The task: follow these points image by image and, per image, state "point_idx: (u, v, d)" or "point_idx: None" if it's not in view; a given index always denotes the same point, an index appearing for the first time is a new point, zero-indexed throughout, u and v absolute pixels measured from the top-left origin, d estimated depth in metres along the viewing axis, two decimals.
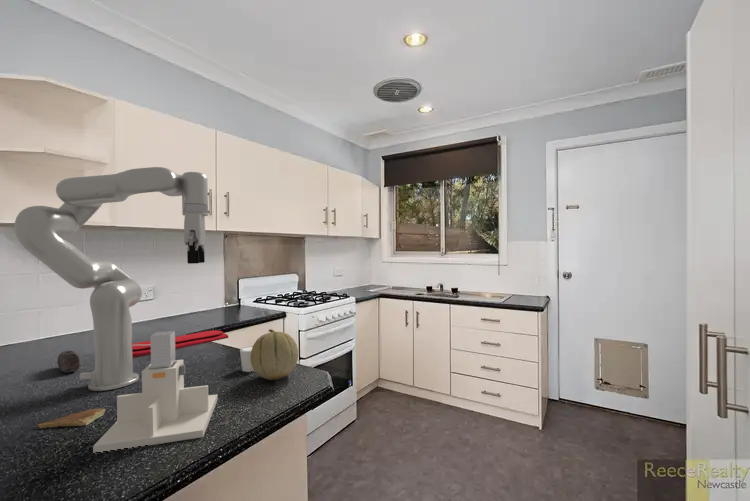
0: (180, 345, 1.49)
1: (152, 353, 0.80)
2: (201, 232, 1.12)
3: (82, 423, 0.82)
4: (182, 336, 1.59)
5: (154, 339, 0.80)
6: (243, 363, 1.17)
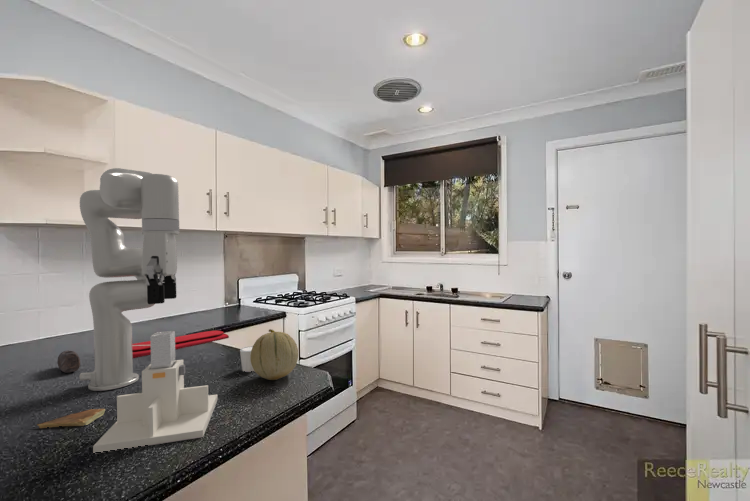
0: (180, 345, 1.49)
1: (152, 353, 0.80)
2: (168, 258, 0.80)
3: (82, 423, 0.82)
4: (182, 336, 1.58)
5: (154, 339, 0.80)
6: (243, 363, 1.17)
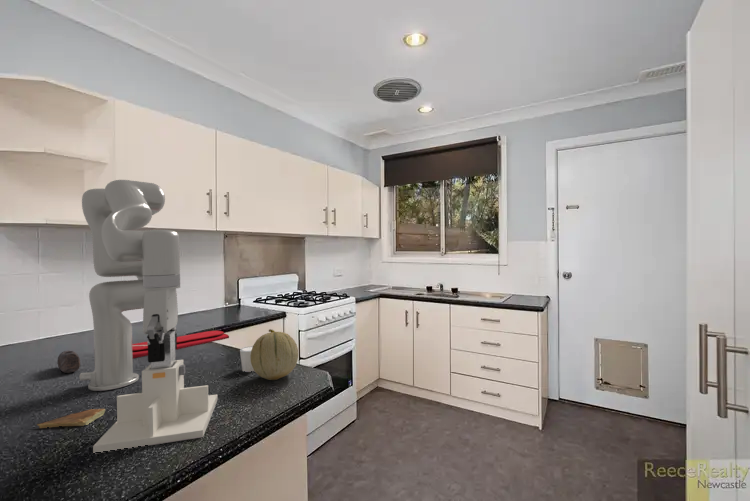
0: (181, 345, 1.48)
1: None
2: (169, 315, 0.80)
3: (82, 423, 0.82)
4: (182, 336, 1.58)
5: None
6: (243, 363, 1.17)
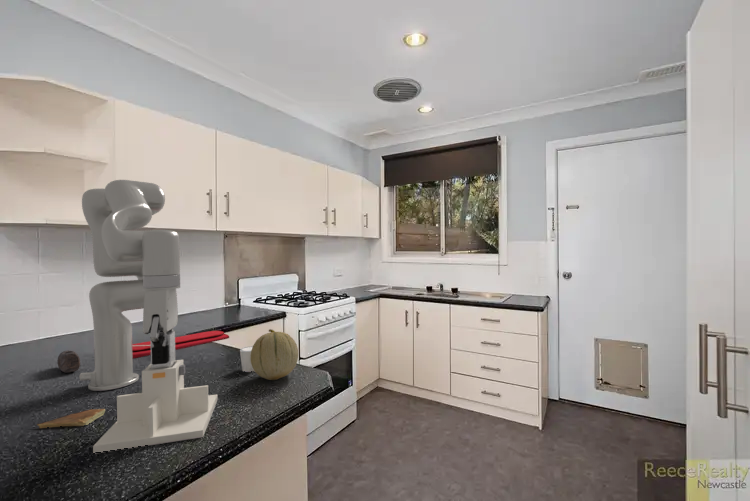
0: (181, 346, 1.48)
1: None
2: (169, 315, 0.80)
3: (82, 423, 0.82)
4: (183, 336, 1.58)
5: None
6: (243, 363, 1.17)
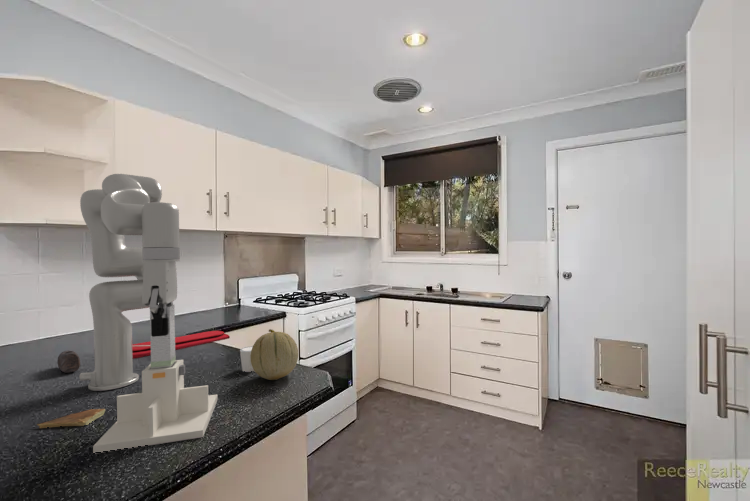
0: (181, 346, 1.48)
1: None
2: (168, 287, 0.80)
3: (82, 423, 0.82)
4: (183, 337, 1.58)
5: None
6: (243, 363, 1.17)
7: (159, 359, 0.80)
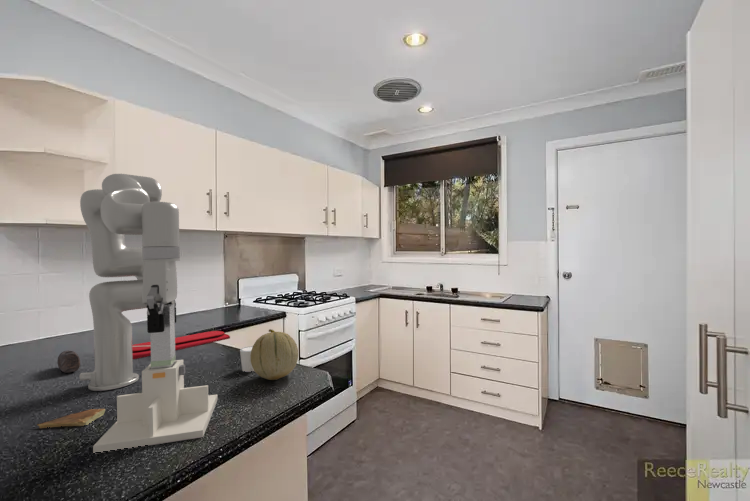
0: (182, 346, 1.48)
1: None
2: (168, 286, 0.80)
3: (82, 423, 0.82)
4: (183, 337, 1.57)
5: None
6: (243, 363, 1.17)
7: (159, 359, 0.80)
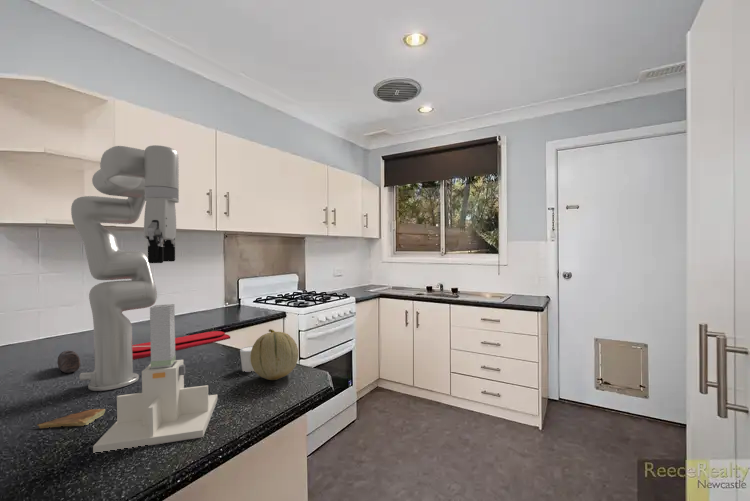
0: (182, 346, 1.47)
1: (151, 325, 0.80)
2: (167, 223, 0.88)
3: (82, 423, 0.82)
4: (183, 337, 1.57)
5: (153, 310, 0.80)
6: (243, 363, 1.17)
7: (159, 359, 0.80)
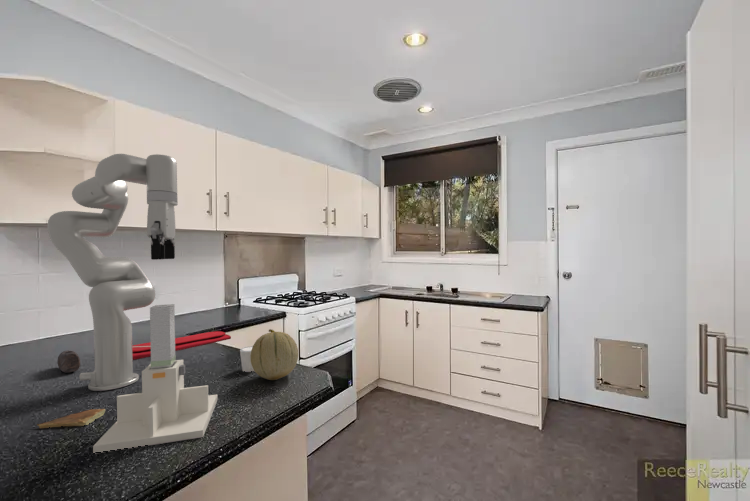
0: (183, 346, 1.47)
1: (151, 325, 0.80)
2: (168, 223, 0.98)
3: (82, 423, 0.82)
4: (184, 337, 1.57)
5: (153, 310, 0.80)
6: (243, 363, 1.17)
7: (159, 359, 0.80)
